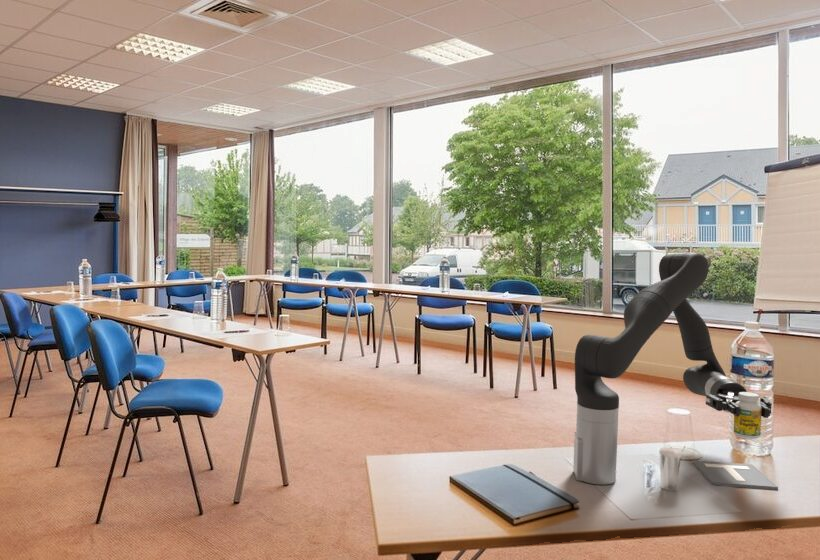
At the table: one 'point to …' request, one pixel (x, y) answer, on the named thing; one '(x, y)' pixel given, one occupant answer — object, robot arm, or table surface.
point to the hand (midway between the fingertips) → (752, 412)
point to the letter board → (734, 474)
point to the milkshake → (669, 467)
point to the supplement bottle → (748, 416)
